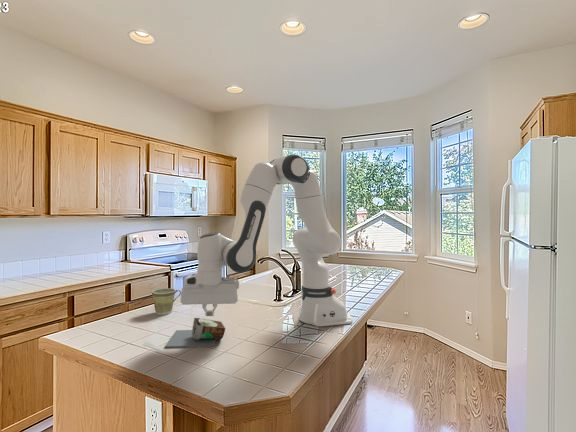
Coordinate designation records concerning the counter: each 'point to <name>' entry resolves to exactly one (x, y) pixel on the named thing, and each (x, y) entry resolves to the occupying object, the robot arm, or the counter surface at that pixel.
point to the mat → (187, 340)
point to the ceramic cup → (164, 300)
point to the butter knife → (152, 346)
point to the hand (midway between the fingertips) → (209, 315)
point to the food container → (207, 329)
